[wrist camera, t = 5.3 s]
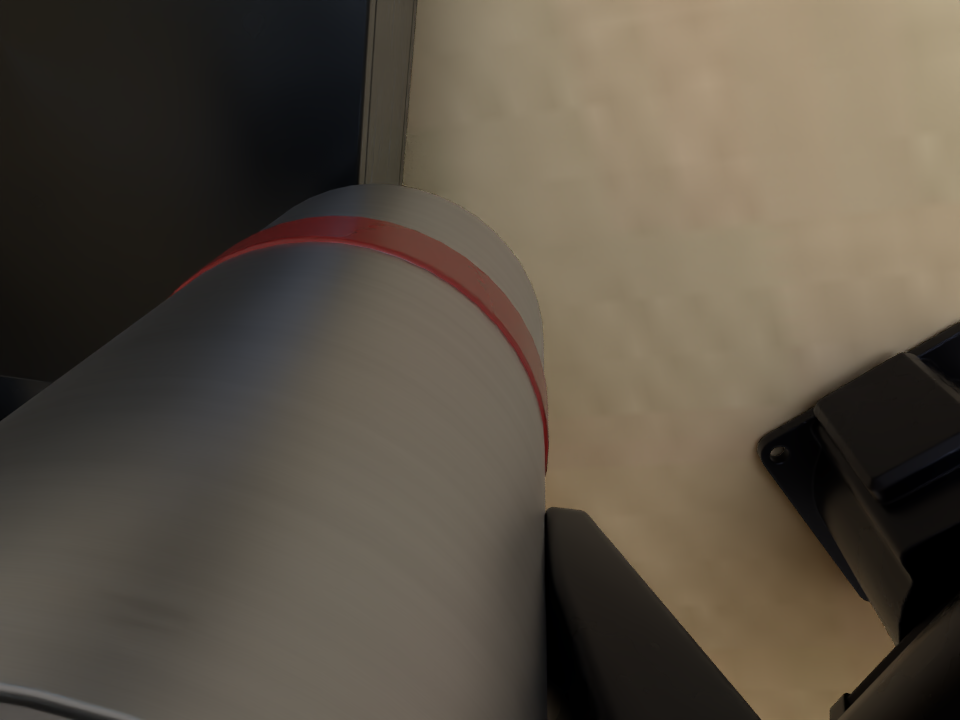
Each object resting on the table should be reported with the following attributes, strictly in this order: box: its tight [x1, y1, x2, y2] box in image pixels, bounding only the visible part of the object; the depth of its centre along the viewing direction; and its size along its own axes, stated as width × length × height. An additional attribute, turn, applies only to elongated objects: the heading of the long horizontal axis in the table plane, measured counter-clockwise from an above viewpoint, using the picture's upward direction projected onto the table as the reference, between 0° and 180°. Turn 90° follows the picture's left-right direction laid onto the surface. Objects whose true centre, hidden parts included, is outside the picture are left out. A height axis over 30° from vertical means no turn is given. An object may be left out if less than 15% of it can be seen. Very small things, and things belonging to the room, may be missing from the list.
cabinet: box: [0, 0, 417, 384], centre depth 16 cm, size 13×13×6 cm
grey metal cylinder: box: [0, 184, 549, 720], centre depth 9 cm, size 5×5×10 cm
